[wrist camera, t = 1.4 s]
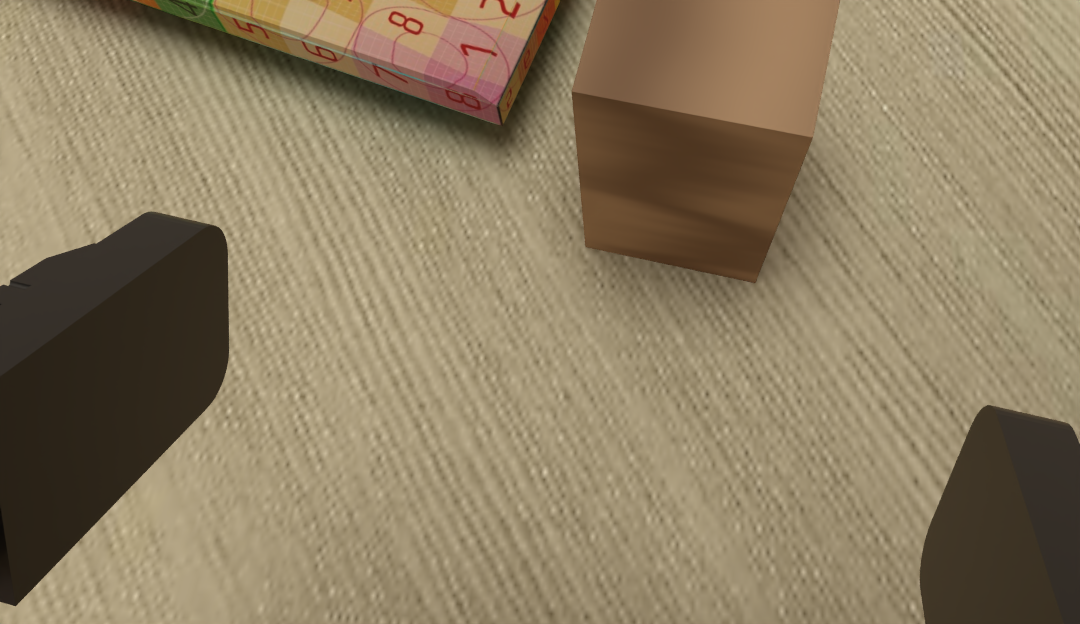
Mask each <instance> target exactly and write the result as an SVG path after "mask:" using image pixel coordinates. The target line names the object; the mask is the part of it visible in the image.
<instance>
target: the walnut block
mask: <svg viewBox="0 0 1080 624" xmlns="http://www.w3.org/2000/svg"><path fill="white" fill-rule="evenodd" d="M839 3H840V0H597V1H596V5H595V9H594V12H593V16H592V19H591V23H590V27H589V30H588V34H587V38H586V41H585V45H584V49H583V52H582V56H581V60H580V63H579V67H578V70H577V74H576V78H575V81H574V85H573V89H572V100H573V111H574V123H575V134H576V145H577V156H578V168H579V179H580V190H581V201H582V212H583V224H584V235H585V246H586V247H588V248H593V249H598V250H603V251H607V252H612V253H617V254H621V255H626V256H631V257H635V258H640V259H645V260H650V261H654V262H659V263H664V264H668V265H673V266H678V267H682V268H687V269H692V270H696V271H701V272H706V273H711V274H715V275H720V276H725V277H729V278H734V279H739V280H743V281H748V282H753V283H755V282H756V280H757V277H758V275H759V272H760V270H761V267H762V265H763V262H764V259H765V257H766V254H767V252H768V249H769V247H770V244H771V242H772V239H773V237H774V234H775V232H776V229H777V227H778V224H779V222H780V219H781V217H782V214H783V212H784V209H785V206H786V204H787V201H788V199H789V196H790V194H791V191H792V189H793V186H794V184H795V181H796V179H797V176H798V174H799V171H800V169H801V166H802V164H803V161H804V159H805V156H806V153H807V151H808V148H809V146H810V143H811V141H812V138H813V134H814V129H815V124H816V119H817V114H818V109H819V104H820V99H821V94H822V89H823V84H824V79H825V74H826V69H827V64H828V59H829V54H830V49H831V44H832V39H833V33H834V28H835V23H836V18H837V13H838V8H839Z"/></svg>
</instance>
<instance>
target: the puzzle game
mask: <svg viewBox="0 0 1080 624" xmlns="http://www.w3.org/2000/svg"><path fill="white" fill-rule="evenodd" d="M131 1H134V2H137V3H140V4H143V5H146V6H149V7H152V8H155V9H158V10H161V11H164V12H167V13H169V14H172V15H175V16H178V17H181V18H184V19H187V20H190V21H193V22H196V23H199V24H202V25H205V26H208V27H211V28H214V29H217V30H220V31H222V32H225V33H228V34H231V35H234V36H237V37H240V38H243V39H246V40H249V41H252V42H255V43H258V44H261V45H264V46H267V47H270V48H272V49H275V50H278V51H281V52H284V53H287V54H290V55H293V56H296V57H299V58H302V59H305V60H308V61H311V62H314V63H317V64H320V65H322V66H325V67H328V68H331V69H334V70H337V71H340V72H343V73H346V74H349V75H352V76H355V77H358V78H361V79H364V80H367V81H370V82H373V83H375V84H378V85H381V86H384V87H387V88H390V89H393V90H396V91H399V92H402V93H405V94H408V95H411V96H414V97H417V98H420V99H423V100H425V101H428V102H431V103H434V104H437V105H440V106H443V107H446V108H449V109H452V110H455V111H458V112H461V113H464V114H467V115H470V116H473V117H475V118H478V119H481V120H484V121H487V122H490V123H493V124H497V125H502V126H503V124H504V122H505V120H506V118H507V116H508V113H509V111H510V109H511V107H512V105H513V103H514V100H515V98H516V96H517V94H518V92H519V90H520V87H521V85H522V83H523V81H524V79H525V77H526V74H527V72H528V70H529V68H530V66H531V64H532V61H533V59H534V57H535V55H536V53H537V50H538V48H539V46H540V44H541V42H542V40H543V37H544V35H545V33H546V31H547V29H548V27H549V24H550V22H551V20H552V18H553V16H554V14H555V11H556V9H557V7H558V5H559V3H560V1H561V0H131Z"/></svg>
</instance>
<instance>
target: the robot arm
mask: <svg viewBox="0 0 1080 624" xmlns="http://www.w3.org/2000/svg"><path fill="white" fill-rule="evenodd" d="M228 357H229V311H228V250H227V242H226V239H225V236H224V234H223V232H222V230H221V229H220V228H219V227H217V226H214V225H210V224H205V223H201V222H197V221H192V220H188V219H184V218H179V217H175V216H170V215H166V214H162V213H157V212H147V213H144V214H142V215H141V216H139V217H138V218H136V219H134V220H133V221H131V222H130V223H128V224H127V225H125V226H124V227H122V228H120V229H119V230H117V231H116V232H114V233H113V234H111V235H109V236H108V237H106V238H105V239H103V240H102V241H100V242H98V243H97V244H95V243H94V244H91V245H87V246H84V247H81V248H78V249H74V250H71V251H68V252H65V253H62V254H58V255H55V256H52V257H49V258H46V259H44V260H43V261H41V262H39V263H38V264H36V265H34V266H33V267H31V268H30V269H28V270H26V271H25V272H23V273H21V274H20V275H18V276H17V277H15V278H13V279H12V280H10V285H9V286H6V285H2V286H0V602H3V603H7V604H10V605H13V606H16V605H17V604H18V603H19V602H20V601H21V600H22V599H23V598H24V597H25V596H26V595H27V594H28V593H29V592H30V591H31V590H32V589H33V588H34V587H35V586H36V585H37V584H38V583H39V582H40V581H41V579H42V578H43V577H44V576H45V575H46V574H47V573H48V572H49V571H50V570H51V569H52V568H53V567H54V566H55V565H56V564H57V563H58V562H59V561H60V560H61V559H62V558H63V557H64V556H65V555H66V554H67V553H68V552H69V551H70V549H71V548H72V547H73V546H74V545H75V544H76V543H77V542H78V541H79V540H80V539H81V538H82V537H83V536H84V535H85V534H86V533H87V532H88V531H89V530H90V529H91V528H92V527H93V526H94V525H95V524H96V523H97V522H98V520H99V519H100V518H101V517H102V516H103V515H104V514H105V513H106V512H107V511H108V510H109V509H110V508H111V507H112V506H113V505H114V504H115V503H116V502H117V501H118V500H119V499H120V498H121V497H122V496H123V495H124V494H125V493H126V491H127V490H128V489H129V488H130V487H131V486H132V485H133V484H134V483H135V482H136V481H137V480H138V479H139V478H140V477H141V476H142V475H143V474H144V473H145V472H146V471H147V470H148V469H149V468H150V467H151V466H152V465H153V464H154V462H155V461H156V460H157V459H158V458H159V457H160V456H161V455H162V454H163V453H164V452H165V451H166V450H167V449H168V448H169V447H170V446H171V445H172V444H173V443H174V442H175V441H176V440H177V439H178V438H179V437H180V436H181V435H182V433H183V432H184V431H185V430H186V429H187V428H188V427H189V426H190V425H191V424H192V423H193V422H194V421H195V420H196V419H197V418H198V417H199V416H200V415H201V414H202V413H203V412H204V411H205V410H206V409H207V408H208V406H209V405H210V404H211V403H212V401H213V400H214V398H215V397H216V395H217V393H218V391H219V389H220V387H221V385H222V382H223V379H224V376H225V373H226V369H227V364H228ZM920 590H921V597H922V604H923V610H924V617H925V623H926V624H1080V444H1079V441H1078V439H1077V437H1076V434H1075V432H1074V430H1073V428H1072V427H1071V426H1070V425H1069V424H1068V423H1065V422H1061V421H1057V420H1052V419H1048V418H1043V417H1039V416H1035V415H1030V414H1026V413H1022V412H1017V411H1013V410H1009V409H1004V408H1000V407H996V406H991V405H987V406H985V407H983V408H982V409H981V410H980V411H979V413H978V414H977V416H976V417H975V419H974V421H973V423H972V425H971V427H970V430H969V432H968V435H967V437H966V439H965V442H964V444H963V447H962V449H961V451H960V454H959V456H958V459H957V461H956V464H955V466H954V468H953V471H952V473H951V476H950V478H949V480H948V483H947V485H946V488H945V490H944V492H943V495H942V497H941V500H940V502H939V505H938V507H937V509H936V512H935V514H934V517H933V519H932V521H931V524H930V527H929V529H928V532H927V536H926V539H925V543H924V548H923V553H922V559H921V568H920Z"/></svg>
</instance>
